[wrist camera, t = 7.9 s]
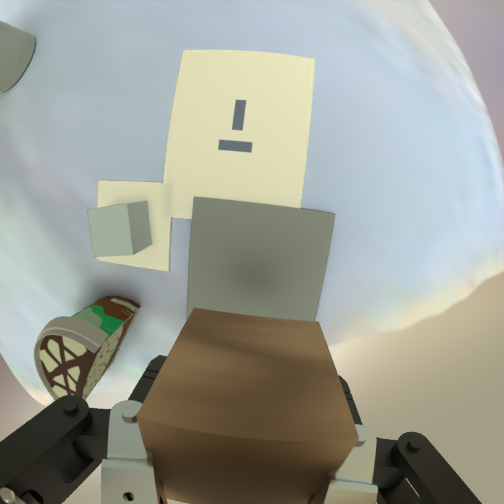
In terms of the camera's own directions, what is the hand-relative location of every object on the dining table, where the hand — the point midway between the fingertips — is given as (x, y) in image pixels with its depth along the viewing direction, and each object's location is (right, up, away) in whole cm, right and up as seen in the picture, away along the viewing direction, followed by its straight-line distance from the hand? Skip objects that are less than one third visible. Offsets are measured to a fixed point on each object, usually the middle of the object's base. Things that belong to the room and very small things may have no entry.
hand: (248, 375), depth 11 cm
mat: (+1, +3, +14) cm, 14 cm away
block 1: (-11, +8, +13) cm, 19 cm away
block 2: (0, 0, +1) cm, 1 cm away
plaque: (-11, +8, +13) cm, 19 cm away
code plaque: (-1, +15, +11) cm, 19 cm away
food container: (-16, -2, +16) cm, 23 cm away
